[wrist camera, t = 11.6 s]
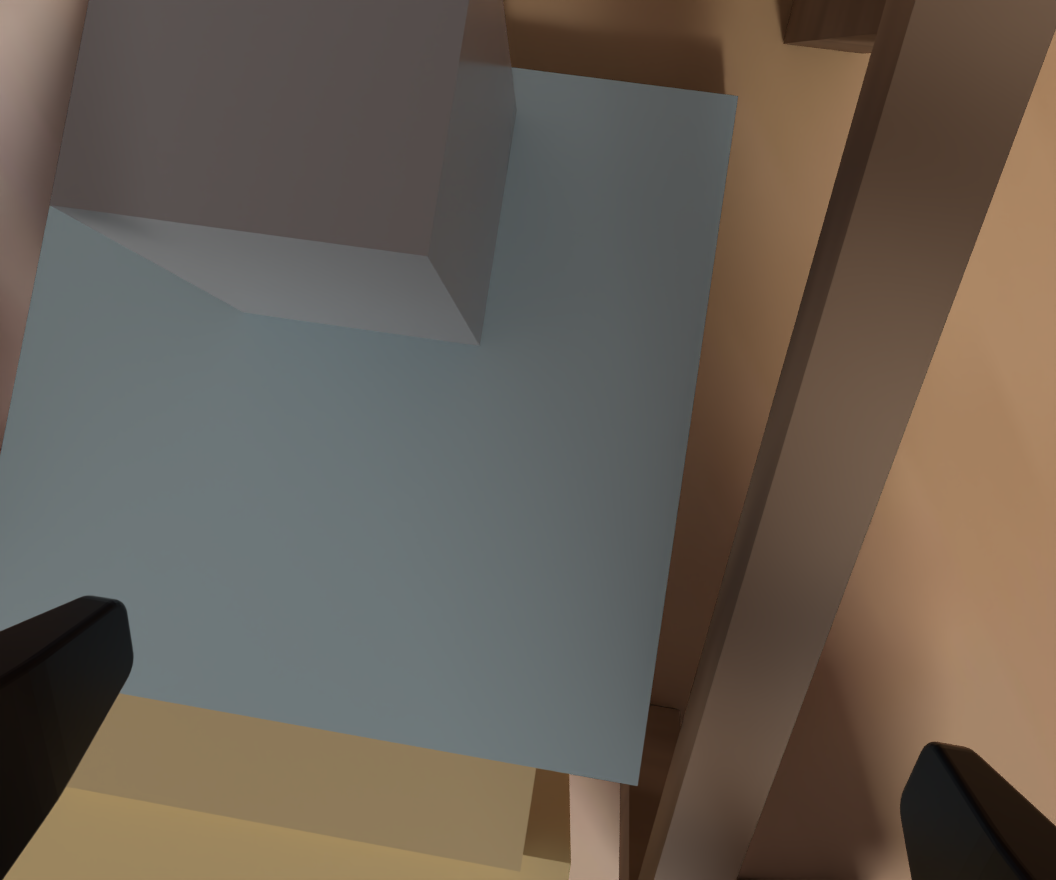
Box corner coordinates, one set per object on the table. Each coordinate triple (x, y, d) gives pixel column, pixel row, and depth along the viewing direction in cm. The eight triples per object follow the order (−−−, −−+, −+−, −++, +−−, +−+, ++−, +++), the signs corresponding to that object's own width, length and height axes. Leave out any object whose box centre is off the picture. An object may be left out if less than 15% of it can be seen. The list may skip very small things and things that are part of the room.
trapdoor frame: (669, 745, 25) (684, 1015, 18) (121, 648, 26) (-69, 868, 19) (885, -37, 15) (1113, -124, 8) (-14, -141, 16) (-519, -299, 9)
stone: (479, 345, 16) (427, 255, 10) (243, 312, 16) (49, 205, 10) (516, 110, 16) (487, -119, 10) (283, 81, 16) (119, -159, 10)
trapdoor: (582, 915, 21) (591, 1105, 15) (96, 823, 22) (-101, 964, 15) (687, 211, 22) (737, 96, 16) (221, 148, 23) (87, 13, 16)
